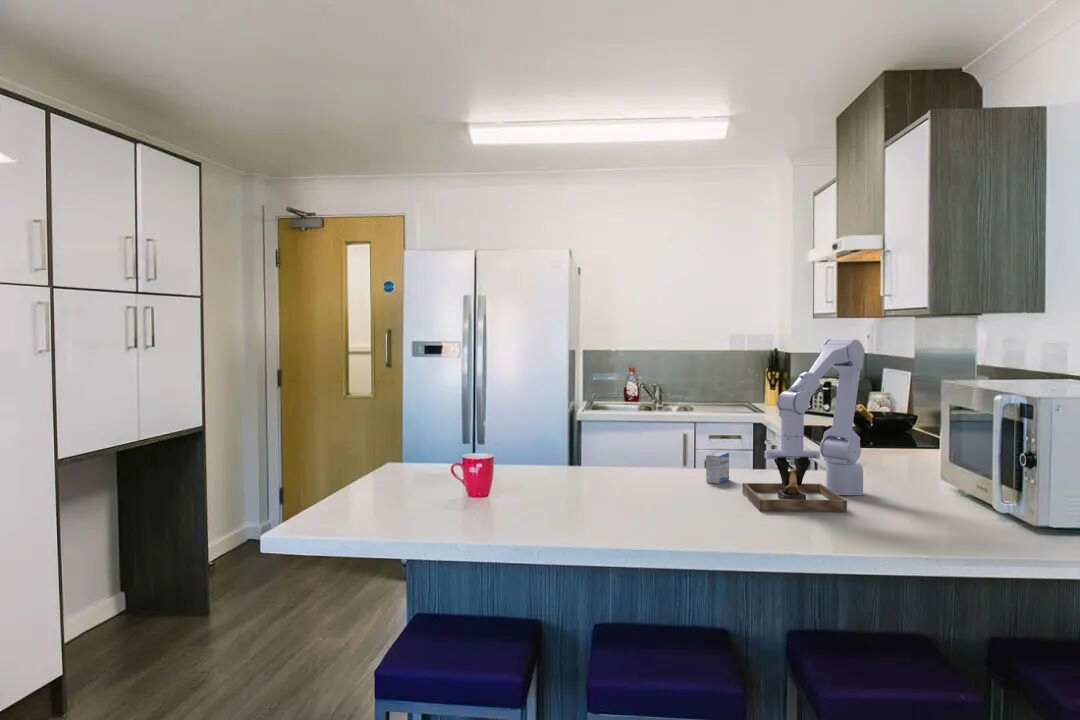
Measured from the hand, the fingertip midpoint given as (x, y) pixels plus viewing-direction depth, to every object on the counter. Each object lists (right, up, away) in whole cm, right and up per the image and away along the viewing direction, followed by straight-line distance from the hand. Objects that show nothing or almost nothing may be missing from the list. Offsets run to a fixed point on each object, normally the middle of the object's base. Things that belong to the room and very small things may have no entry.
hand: (791, 485), depth 189 cm
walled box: (0, -5, 0) cm, 5 cm away
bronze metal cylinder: (0, -2, 0) cm, 2 cm away
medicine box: (-13, -4, +27) cm, 30 cm away
